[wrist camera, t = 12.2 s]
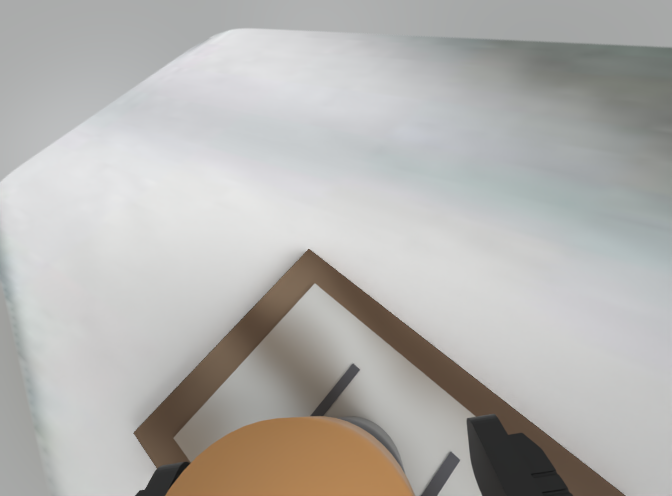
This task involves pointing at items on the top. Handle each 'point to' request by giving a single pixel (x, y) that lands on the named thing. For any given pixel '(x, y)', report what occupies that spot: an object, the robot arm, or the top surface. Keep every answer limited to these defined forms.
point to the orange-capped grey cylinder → (298, 461)
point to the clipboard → (343, 385)
